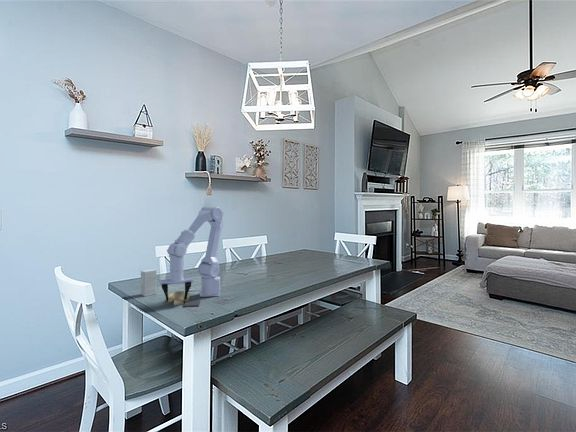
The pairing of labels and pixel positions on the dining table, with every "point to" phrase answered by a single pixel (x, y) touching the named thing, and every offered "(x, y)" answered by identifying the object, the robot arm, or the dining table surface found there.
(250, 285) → the dining table surface
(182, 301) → the plug block
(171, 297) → the pair of wooden bars
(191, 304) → the rubber mat
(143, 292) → the skincare box
